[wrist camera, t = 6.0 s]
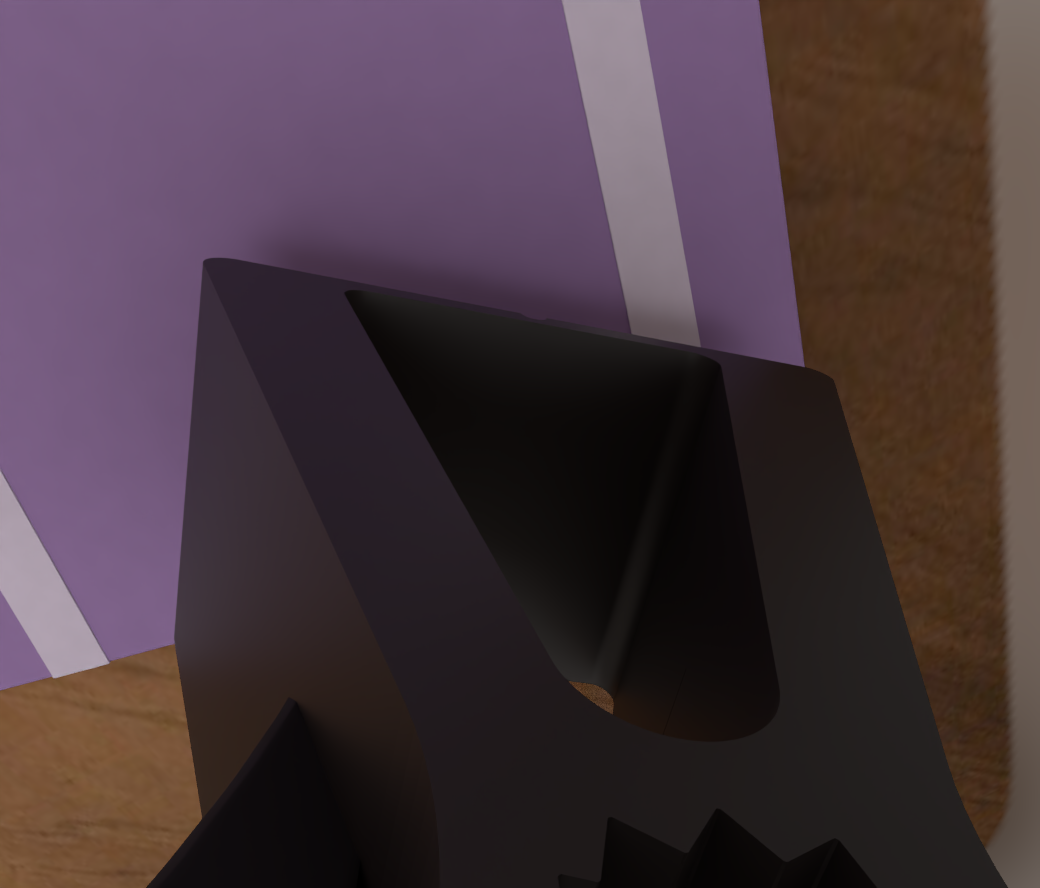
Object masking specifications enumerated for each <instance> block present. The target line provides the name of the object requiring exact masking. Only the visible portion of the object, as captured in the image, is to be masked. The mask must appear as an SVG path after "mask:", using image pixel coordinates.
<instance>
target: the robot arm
mask: <svg viewBox="0 0 1040 888" xmlns="http://www.w3.org/2000/svg"><path fill="white" fill-rule="evenodd" d="M685 671H686V670H685ZM684 674H685V673H684ZM683 677H684V676H683ZM682 680H683V678H682ZM681 683H682V681H681ZM680 685H681V684H680ZM679 688H680V687H679ZM678 691H679V690H678ZM677 694H678V693H677ZM676 697H677V695H676ZM675 700H676V698H675ZM674 703H675V701H674ZM673 706H674V704H673ZM672 708H673V707H672ZM671 711H672V710H671ZM670 714H671V712H670ZM669 717H670V715H669ZM668 720H669V718H668ZM667 723H668V721H667ZM666 726H667V724H666ZM665 728H666V727H665ZM664 731H665V729H664ZM663 734H664V732H663ZM359 867H360V859H359V857H358V854H357V852H356V849H355V847H354V844H353V842H352V839H351V837H350V834H349V832H348V829H347V827H346V824H345V822H344V819H343V817H342V814H341V812H340V809H339V807H338V804H337V802H336V799H335V796H334V794H333V791H332V789H331V786H330V784H329V781H328V779H327V776H326V774H325V771H324V769H323V766H322V764H321V761H320V759H319V756H318V754H317V751H316V749H315V746H314V744H313V741H312V739H311V736H310V734H309V731H308V729H307V726H306V724H305V721H304V719H303V716H302V714H301V711H300V709H299V706H298V704H297V702H296V701H295V700H293V699H291V698H290V697H288V699H287V701H286V702H285V704H284V706H283V707H282V709H281V710H280V712H279V714H278V715H277V717H276V718H275V720H274V721H273V723H272V724H271V726H270V727H269V729H268V730H267V731H266V733H265V734H264V736H263V737H262V739H261V740H260V742H259V743H258V745H257V746H256V747H255V749H254V750H253V752H252V753H251V755H250V756H249V758H248V759H247V761H246V762H245V763H244V765H243V766H242V768H241V769H240V771H239V772H238V773H237V775H236V776H235V778H234V779H233V780H232V782H231V783H230V784H229V786H228V787H227V788H226V790H225V791H224V792H223V793H222V795H221V796H220V797H219V799H218V800H217V801H216V802H215V804H214V805H213V806H212V807H211V809H210V810H209V811H208V812H207V814H206V815H205V816H204V817H203V819H202V820H201V821H200V822H199V824H198V825H197V826H196V828H195V829H194V830H193V831H192V833H191V834H190V835H189V836H188V838H187V839H186V840H185V841H184V843H183V844H182V845H181V846H180V848H179V849H178V850H177V852H176V853H175V854H174V855H173V857H172V858H171V859H170V860H169V861H168V863H167V864H166V865H165V866H164V867H163V869H162V870H161V871H160V872H159V873H158V874H157V876H156V877H155V878H154V879H153V880H152V881H151V883H150V884H149V885H148V886H147V887H146V888H356V887H357V880H358V874H359Z"/></svg>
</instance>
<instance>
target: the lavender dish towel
mask: <svg viewBox="0 0 1040 888" xmlns="http://www.w3.org/2000/svg"><path fill="white" fill-rule="evenodd" d="M208 258H231V259H237V260H243V261H248V262H253V263H259V264H264V265H269V266H274V267H280V268H285V269H290V270H296V271H301V272H306V273H311V274H317V275H322V276H327V277H333V278H338V279H343V280H348V281H354V282H359V283H364V284H369V285H375V286H380V287H385V288H391V289H396V290H401V291H406V292H412V293H417V294H422V295H428V296H433V297H438V298H443V299H449V300H454V301H459V302H465V303H470V304H475V305H480V306H486V307H491V308H496V309H501V310H507V311H512V312H517V313H521V314H522V315H524V316H526V317H528V318H532V319H537V320H546V318H549V319H554V320H560V321H565V322H570V323H575V324H581V325H586V326H591V327H596V328H602V329H607V330H612V331H618V332H623V333H628V334H633V335H639V336H644V337H649V338H655V339H660V340H665V341H670V342H676V343H681V344H686V345H691V346H697V347H702V348H707V349H713V350H718V351H723V352H728V353H734V354H739V355H744V356H750V357H755V358H760V359H765V360H771V361H776V362H781V363H787V364H792V365H797V366H802V367H805V366H804V358H803V350H802V342H801V334H800V326H799V318H798V310H797V302H796V294H795V286H794V278H793V270H792V262H791V254H790V246H789V238H788V230H787V222H786V214H785V206H784V198H783V190H782V182H781V174H780V166H779V158H778V151H777V143H776V135H775V127H774V119H773V111H772V103H771V95H770V87H769V79H768V71H767V63H766V55H765V47H764V39H763V31H762V23H761V15H760V7H759V0H0V690H3V689H7V688H11V687H15V686H18V685H22V684H26V683H30V682H33V681H37V680H41V679H45V678H48V677H53V678H57V677H61V676H65V675H68V674H72V673H76V672H80V671H83V670H87V669H91V668H95V667H98V666H102V665H106V664H109V663H110V661H112V660H116V659H120V658H123V657H127V656H131V655H135V654H138V653H142V652H146V651H149V650H153V649H157V648H161V647H164V646H168V645H172V644H175V641H174V631H175V618H176V605H177V592H178V579H179V566H180V553H181V540H182V527H183V514H184V501H185V488H186V475H187V462H188V449H189V436H190V423H191V410H192V397H193V384H194V372H195V359H196V346H197V333H198V320H199V307H200V294H201V281H202V268H203V261H204V260H205V259H208Z"/></svg>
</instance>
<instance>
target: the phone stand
mask: <svg viewBox="0 0 1040 888" xmlns="http://www.w3.org/2000/svg"><path fill="white" fill-rule="evenodd" d="M174 641H175V647H176V654H177V660H178V667H179V673H180V679H181V686H182V692H183V698H184V705H185V711H186V717H187V724H188V730H189V736H190V743H191V749H192V756H193V762H194V768H195V775H196V781H197V787H198V794H199V800H200V806H201V813H202V819H203V817H204V816H205V815H206V814H207V812H208V811H209V810H210V809H211V807H212V806H213V805H214V804H215V802H216V801H217V800H218V799H219V797H220V796H221V795H222V793H223V792H224V791H225V790H226V788H227V787H228V786H229V784H230V783H231V782H232V780H233V779H234V778H235V776H236V775H237V773H238V772H239V771H240V769H241V768H242V766H243V765H244V763H245V762H246V761H247V759H248V758H249V756H250V755H251V753H252V752H253V750H254V749H255V747H256V746H257V745H258V743H259V742H260V740H261V739H262V737H263V736H264V734H265V733H266V731H267V730H268V729H269V727H270V726H271V724H272V723H273V721H274V720H275V718H276V717H277V715H278V714H279V712H280V710H281V709H282V707H283V706H284V704H285V702H286V701H287V699H288V697H290V698H291V699H293V700H295V701H296V702H297V704H298V706H299V709H300V711H301V714H302V716H303V719H304V721H305V724H306V726H307V729H308V731H309V734H310V736H311V739H312V741H313V744H314V746H315V749H316V751H317V754H318V756H319V759H320V761H321V764H322V766H323V769H324V771H325V774H326V776H327V779H328V781H329V784H330V786H331V789H332V791H333V794H334V796H335V799H336V802H337V804H338V807H339V809H340V812H341V814H342V817H343V819H344V822H345V824H346V827H347V829H348V832H349V834H350V837H351V839H352V842H353V844H354V847H355V849H356V852H357V854H358V857H359V859H360V867H359V874H358V880H357V887H356V888H1008V887H1007V885H1006V884H1005V882H1004V881H1003V879H1002V877H1001V876H1000V874H999V872H998V871H997V869H996V868H995V866H994V864H993V862H992V860H991V858H990V857H989V855H988V853H987V851H986V850H985V848H984V846H983V844H982V842H981V841H980V839H979V837H978V835H977V833H976V831H975V829H974V827H973V825H972V823H971V821H970V819H969V816H968V814H967V812H966V810H965V808H964V806H963V803H962V801H961V798H960V796H959V794H958V791H957V789H956V786H955V784H954V781H953V778H952V775H951V772H950V769H949V766H948V763H947V760H946V756H945V753H944V750H943V746H942V743H941V740H940V736H939V733H938V729H937V726H936V723H935V719H934V716H933V713H932V709H931V706H930V703H929V699H928V696H927V692H926V689H925V686H924V682H923V679H922V676H921V672H920V669H919V665H918V662H917V659H916V655H915V652H914V649H913V645H912V642H911V639H910V635H909V632H908V628H907V625H906V622H905V618H904V615H903V612H902V608H901V605H900V601H899V598H898V595H897V591H896V588H895V585H894V581H893V578H892V575H891V571H890V568H889V564H888V561H887V558H886V554H885V551H884V548H883V544H882V541H881V537H880V534H879V531H878V527H877V524H876V521H875V517H874V514H873V511H872V507H871V504H870V500H869V497H868V494H867V490H866V487H865V484H864V480H863V477H862V474H861V470H860V467H859V463H858V460H857V457H856V453H855V450H854V447H853V443H852V440H851V436H850V433H849V430H848V426H847V423H846V420H845V416H844V413H843V410H842V406H841V403H840V399H839V396H838V393H837V389H836V386H835V383H834V380H833V379H832V378H830V377H829V376H827V375H825V374H823V373H821V372H818V371H816V370H813V369H810V368H806V367H802V366H797V365H792V364H787V363H781V362H776V361H771V360H765V359H760V358H755V357H750V356H744V355H739V354H734V353H728V352H723V351H718V350H713V349H707V348H702V347H697V346H691V345H686V344H681V343H676V342H670V341H665V340H660V339H655V338H649V337H644V336H639V335H633V334H628V333H623V332H618V331H612V330H607V329H602V328H596V327H591V326H586V325H581V324H575V323H570V322H565V321H560V320H554V319H549V318H546V320H537V319H532V318H528V317H526V316H524V315H522V314H521V313H517V312H512V311H507V310H501V309H496V308H491V307H486V306H480V305H475V304H470V303H465V302H459V301H454V300H449V299H443V298H438V297H433V296H428V295H422V294H417V293H412V292H406V291H401V290H396V289H391V288H385V287H380V286H375V285H369V284H364V283H359V282H354V281H348V280H343V279H338V278H333V277H327V276H322V275H317V274H311V273H306V272H301V271H296V270H290V269H285V268H280V267H274V266H269V265H264V264H259V263H253V262H248V261H243V260H237V259H231V258H208V259H205V260H204V261H203V268H202V281H201V294H200V307H199V320H198V333H197V346H196V359H195V372H194V384H193V397H192V410H191V423H190V436H189V449H188V462H187V475H186V488H185V501H184V514H183V527H182V540H181V553H180V566H179V579H178V592H177V605H176V618H175V631H174ZM685 670H686V671H685ZM684 673H685V674H684ZM683 676H684V677H683ZM682 678H683V680H682ZM568 681H573V682H581V683H589V684H594V685H597V686H599V687H601V688H603V689H604V690H606V691H607V692H608V693H609V694H610V695H611V697H612V698H613V701H614V708H613V715H612V714H610V713H609V712H607V711H605V710H604V709H602V708H600V707H599V706H597V705H596V704H594V703H593V702H592V701H590V700H589V699H588V698H586V697H585V696H584V695H582V694H581V693H580V692H579V691H578V690H577V689H575V688H574V687H573V686H572V685H571V684H570V683H569V682H568ZM681 681H682V683H681ZM680 684H681V685H680ZM679 687H680V688H679ZM678 690H679V691H678ZM677 693H678V694H677ZM676 695H677V697H676ZM675 698H676V700H675ZM674 701H675V703H674ZM673 704H674V706H673ZM672 707H673V708H672ZM671 710H672V711H671ZM670 712H671V714H670ZM669 715H670V717H669ZM668 718H669V720H668ZM667 721H668V723H667ZM666 724H667V726H666ZM665 727H666V728H665ZM664 729H665V731H664ZM663 732H664V734H663Z"/></svg>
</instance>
